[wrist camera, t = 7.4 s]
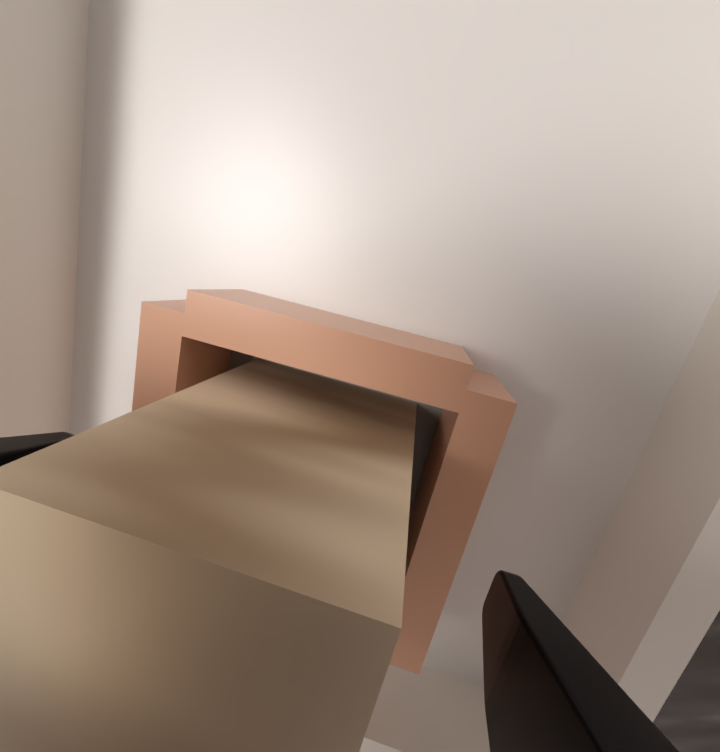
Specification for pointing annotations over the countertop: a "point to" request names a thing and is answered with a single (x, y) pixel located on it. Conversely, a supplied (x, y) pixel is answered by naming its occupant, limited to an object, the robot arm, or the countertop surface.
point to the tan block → (208, 571)
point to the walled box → (402, 281)
